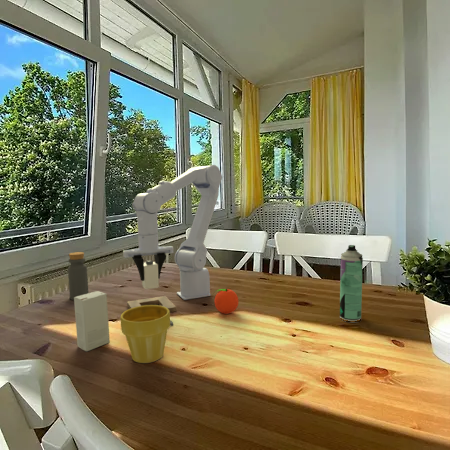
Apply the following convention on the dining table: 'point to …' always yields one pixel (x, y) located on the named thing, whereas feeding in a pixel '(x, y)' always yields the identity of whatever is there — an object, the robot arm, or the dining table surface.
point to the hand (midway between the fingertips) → (150, 278)
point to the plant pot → (146, 331)
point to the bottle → (77, 275)
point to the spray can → (351, 284)
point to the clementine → (226, 301)
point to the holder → (150, 301)
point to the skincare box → (91, 320)
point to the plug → (150, 275)
